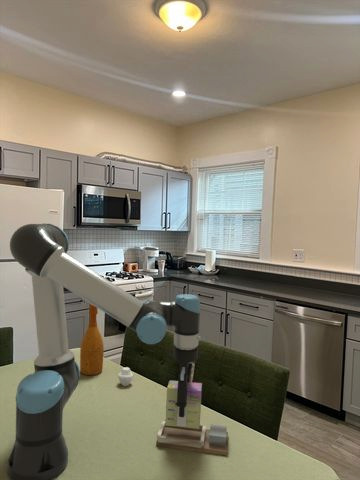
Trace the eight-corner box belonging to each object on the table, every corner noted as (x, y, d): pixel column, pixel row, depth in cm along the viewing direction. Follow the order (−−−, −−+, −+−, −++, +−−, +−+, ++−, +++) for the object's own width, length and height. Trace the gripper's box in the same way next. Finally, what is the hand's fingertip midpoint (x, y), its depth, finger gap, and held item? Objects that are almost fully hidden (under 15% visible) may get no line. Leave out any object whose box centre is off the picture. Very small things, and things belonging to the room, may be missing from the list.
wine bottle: (107, 370, 159) (109, 303, 157) (91, 378, 150) (93, 307, 149) (91, 365, 164) (93, 300, 163) (74, 372, 156) (77, 303, 154)
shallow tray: (227, 455, 104) (227, 441, 104) (156, 445, 107) (156, 432, 107) (227, 435, 114) (228, 422, 113) (162, 427, 117) (163, 414, 117)
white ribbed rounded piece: (130, 388, 143) (131, 371, 143) (115, 386, 144) (116, 369, 144) (134, 381, 149) (135, 365, 149) (120, 380, 150) (121, 363, 150)
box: (200, 419, 113) (202, 382, 112) (199, 429, 107) (201, 390, 107) (167, 416, 114) (169, 379, 113) (165, 426, 108) (166, 387, 108)
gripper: (194, 358, 100) (191, 439, 101) (201, 337, 118) (198, 406, 119) (168, 355, 101) (165, 436, 102) (178, 335, 119) (175, 403, 120)
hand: (183, 419), depth 111 cm, fingers closed on box, 6 cm apart
